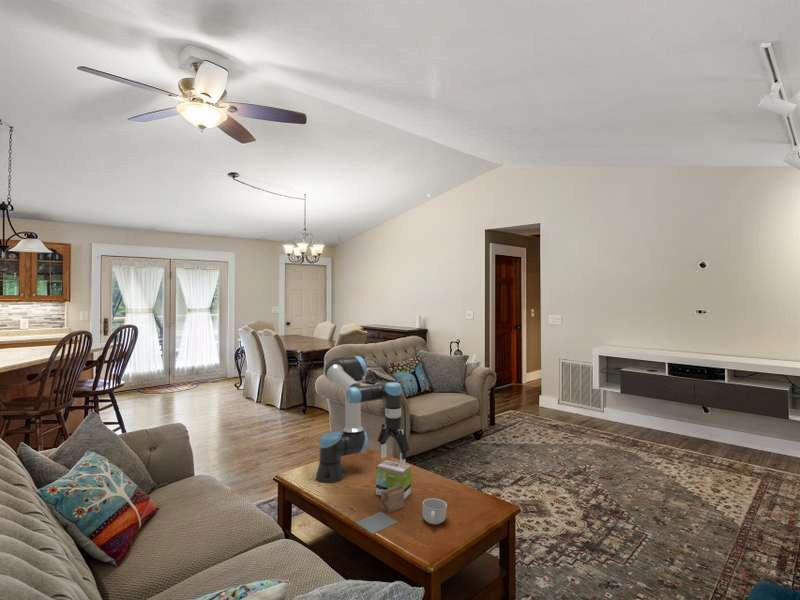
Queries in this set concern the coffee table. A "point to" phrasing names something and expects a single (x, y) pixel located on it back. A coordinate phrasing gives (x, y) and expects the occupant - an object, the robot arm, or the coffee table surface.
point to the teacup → (434, 510)
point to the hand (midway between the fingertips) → (393, 461)
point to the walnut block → (392, 499)
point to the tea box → (393, 477)
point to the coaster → (376, 522)
